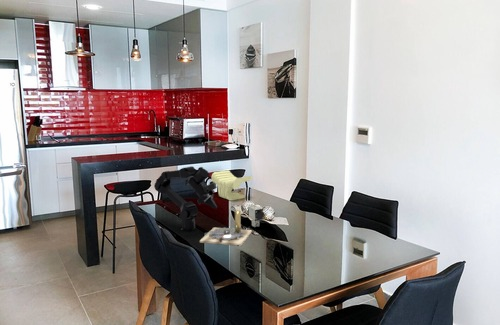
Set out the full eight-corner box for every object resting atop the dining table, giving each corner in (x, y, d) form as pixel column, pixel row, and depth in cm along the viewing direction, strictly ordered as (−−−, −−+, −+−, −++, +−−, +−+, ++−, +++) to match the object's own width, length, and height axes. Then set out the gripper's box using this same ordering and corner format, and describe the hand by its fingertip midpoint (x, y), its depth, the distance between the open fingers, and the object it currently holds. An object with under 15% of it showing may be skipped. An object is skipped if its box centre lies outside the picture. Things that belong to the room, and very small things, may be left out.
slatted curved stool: (211, 195, 307) (211, 172, 304) (229, 192, 316) (229, 170, 313) (233, 203, 283) (233, 178, 280) (252, 199, 292) (251, 175, 290)
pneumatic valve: (256, 229, 225) (256, 208, 223) (247, 223, 235) (247, 204, 234) (265, 228, 228) (265, 207, 226) (255, 222, 238) (255, 202, 236)
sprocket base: (199, 242, 205) (199, 236, 205) (213, 229, 226) (213, 224, 226) (241, 245, 200) (241, 240, 199) (251, 231, 221) (251, 226, 221)
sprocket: (204, 232, 217) (203, 210, 215) (235, 227, 225) (235, 206, 223) (216, 243, 201) (216, 219, 199) (250, 237, 209) (250, 215, 207)
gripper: (204, 179, 209) (224, 202, 209) (212, 174, 227) (230, 195, 227) (188, 193, 210) (208, 215, 210) (197, 187, 229) (215, 208, 229)
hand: (216, 208), depth 219 cm, fingers closed
